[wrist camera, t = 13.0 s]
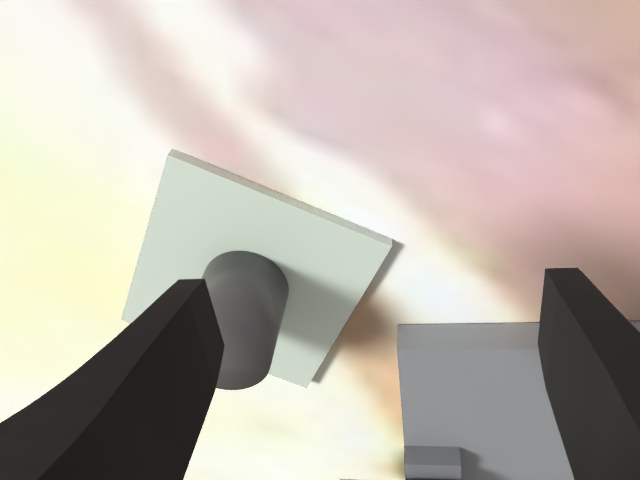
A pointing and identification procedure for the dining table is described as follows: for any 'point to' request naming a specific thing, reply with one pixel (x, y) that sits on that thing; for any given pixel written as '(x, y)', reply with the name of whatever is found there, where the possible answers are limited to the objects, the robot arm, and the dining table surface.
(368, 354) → the dining table surface
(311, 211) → the lid
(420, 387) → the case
